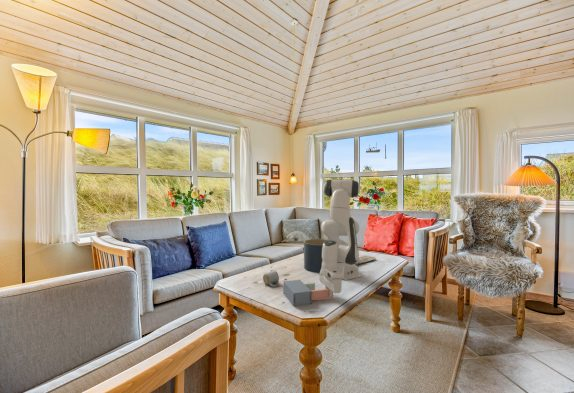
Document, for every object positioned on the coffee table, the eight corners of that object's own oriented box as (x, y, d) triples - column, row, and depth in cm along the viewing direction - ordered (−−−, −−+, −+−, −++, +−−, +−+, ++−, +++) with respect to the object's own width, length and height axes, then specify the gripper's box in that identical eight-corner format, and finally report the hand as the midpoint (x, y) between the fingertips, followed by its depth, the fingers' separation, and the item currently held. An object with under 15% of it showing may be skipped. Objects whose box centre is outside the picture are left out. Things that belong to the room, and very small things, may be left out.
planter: (332, 264, 217) (332, 239, 216) (334, 273, 195) (334, 245, 194) (304, 263, 219) (304, 238, 218) (303, 272, 197) (303, 244, 196)
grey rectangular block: (300, 291, 163) (300, 279, 162) (312, 303, 146) (312, 290, 145) (283, 293, 159) (283, 281, 159) (293, 306, 142) (293, 293, 142)
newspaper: (364, 257, 239) (364, 253, 239) (377, 260, 230) (377, 256, 230) (339, 265, 216) (339, 260, 216) (352, 269, 207) (352, 264, 206)
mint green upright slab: (313, 290, 162) (314, 282, 162) (314, 291, 161) (314, 283, 161) (291, 293, 158) (291, 284, 158) (292, 294, 157) (292, 285, 156)
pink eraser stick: (332, 296, 154) (332, 287, 153) (333, 297, 152) (333, 288, 152) (308, 299, 149) (308, 290, 149) (309, 300, 148) (309, 291, 148)
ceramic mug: (262, 283, 175) (262, 271, 175) (272, 280, 180) (272, 269, 180) (271, 288, 167) (271, 276, 166) (282, 285, 172) (282, 273, 171)
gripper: (316, 265, 161) (316, 288, 161) (332, 276, 141) (332, 303, 142) (326, 264, 163) (326, 287, 163) (343, 275, 143) (343, 301, 144)
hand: (329, 295), depth 152 cm, fingers closed
